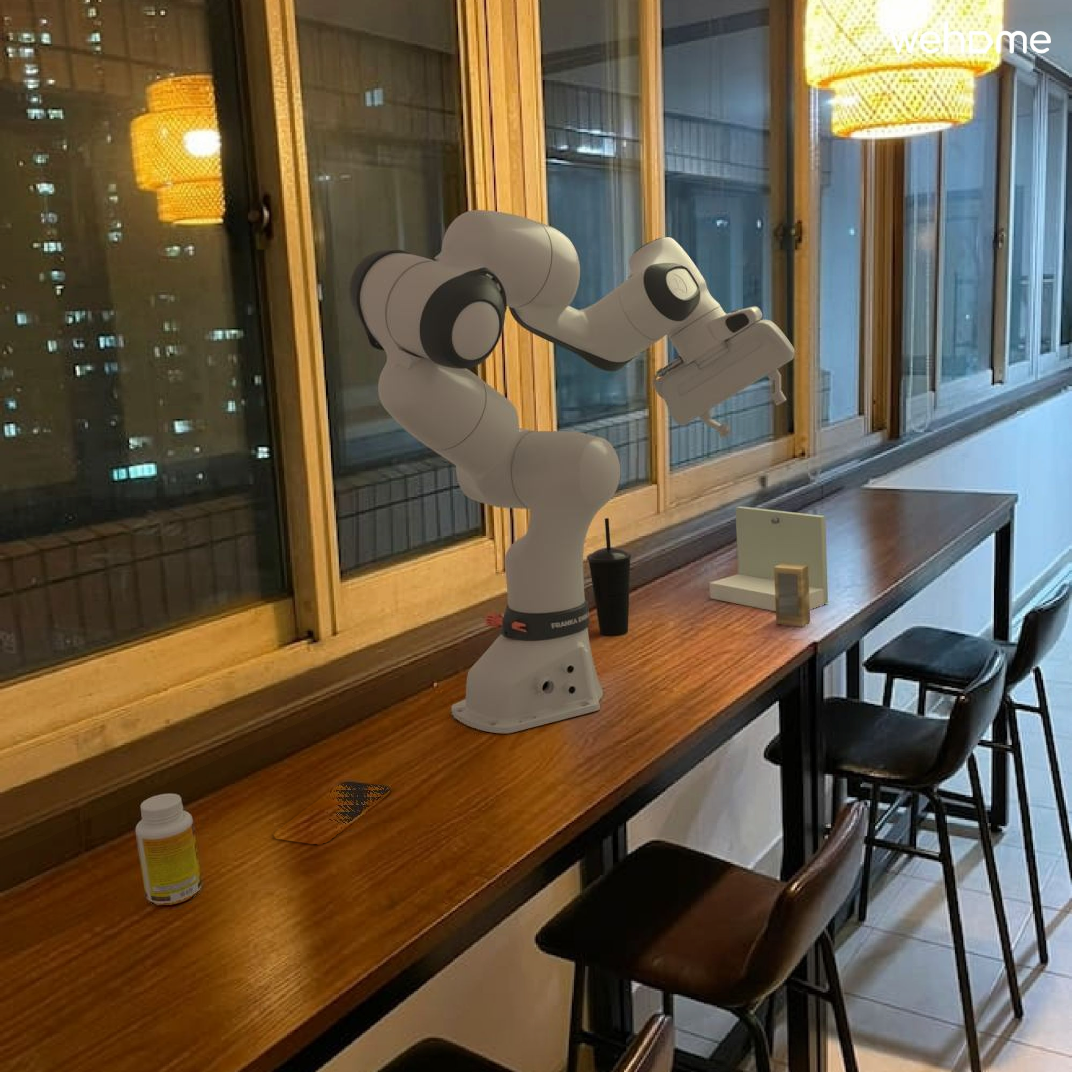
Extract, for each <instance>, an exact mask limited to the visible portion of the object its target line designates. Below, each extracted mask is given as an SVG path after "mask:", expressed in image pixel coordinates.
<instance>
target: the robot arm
mask: <svg viewBox="0 0 1072 1072" xmlns="http://www.w3.org/2000/svg"><path fill="white" fill-rule="evenodd" d="M443 236H444V237H443V239H442V243H441V251H440V253H438V254H437V255H435V257H434V260H433V259H430V258H426V257H423V256H420V255H415V254H414V253H412V252H410V251H407V250H401V249H393V248H392V249H381V250H377V251H373V252H372V253H369V254H367V255H366V256H364V257H363V258H362V259H361V261H359V262H358V264H357V265H356V267H355V268H354V270H353V271H352V272H353V273H352V275H351V278H350V281H349V291H348V292H349V300H350V303H351V307H352V309H353V311H354V313H355V315H356V317H357V319H358V321H359V322H360V324H361V326H362V327H363V329H364V332H365V335H366V337H367V340H368V342H369V344H370V345H371V347H372V348H374V349H377V350H379V351H384V352H385V354H386V362H385V365H384V367H383V368H382V370H381V372H380V375H379V379H378V384H377V385H378V386H377V391H378V398H379V401H380V402H381V403H380V404H381V405H382V407H383V408H384V410H385V411H386V412H387V413H388V414H389V415H390V416H391V417H392V419H394V421H396V422H397V423H398V425H400V426H401V427H402V428H403V429H404V430H405V431H406V432H407V433H408V434H410V435H411V436H412V437H413V438H415V439H416V440H418V441H419V442H420V443H422V444H423V445H425V447H428V448H429V449H430V450H432V451H434V452H435V453H436V454H438V455H439V456H441V457H443V458H444V459H445V460H447V461H449V462H450V463H452V464H453V465H454V466H455V474H456V478H457V479H456V480H457V484H458V486H459V487H460V490H461V491H462V492H463V494H464V495H465V497H467V498H469V499H470V500H472V501H475V502H478V503H482V504H485V505H488V506H491V507H496V508H502V509H506V508H507V509H521V510H522V509H525V510H529V523H528V527H527V530H526V533H525V534H524V535H522V536H521V537H519V538H518V539H517V540H515V541H514V542H513V543H512V544H511V545H510V546H509V548H508V549H507V551H506V553H505V556H504V568H505V569H504V570H505V580H506V583H505V584H506V593H507V594H506V595H507V605H506V606H505V611H504V614H503V616H502V614H500V613H496V612H493V611H491V612H489V613H487V614H486V616H485V620H484V622H485V624H486V625H487V626H488V627H491V628H492V627H494V628H495V629H499V628H500V629H499V633H500V635H498V637H497V638H496V639H495V640H494V641H493V642H492V644H491V645H490V646H489V647H488V648H487V650H486V651H485V652H484V653H483V654H482V655H481V656H480V657H479V659H478V660H477V661H476V662H475V663H474V664H473V666H471V667H470V669H469V670H468V673H467V677H466V683H465V684H466V685H465V699H462V700H460V701H458V702H456V703H453V704H452V705H451V706H450V707H451V712H452V713H451V716H452V715H453V716H454V717H453V716H452V717H453V719H455V718H456V719H457V720H459V721H460V722H459V721H458V722H459V723H461V722H463V723H464V724H463V723H462V724H463V725H465V724H466V725H465V726H468V727H470V728H473V729H475V728H476V730H480V731H483V732H487V733H488V732H489V733H495V734H512V733H515V732H519V731H520V732H521V731H524V730H527V729H531V728H535V727H539V726H544V725H546V724H550V723H555V722H559V721H562V720H567V719H569V718H574V717H578V716H582V715H585V714H588V713H589V714H590V713H593V712H596V711H599V710H600V709H601V704H600V700H601V698H602V697H603V695H604V691H603V688H602V685H601V684H600V680H599V678H598V674H597V671H596V667H595V663H594V659H593V654H592V647H591V642H590V636H589V626H590V623H591V620H590V611H589V610H590V609H589V601H588V599H587V598H585V596H586V595H585V577H584V549H585V543H586V542H585V541H586V536H587V534H588V530H589V529H590V525H591V524H592V522H593V519H594V518H595V516H596V515H597V513H599V511H600V510H601V509H602V508H603V507H604V506H605V505H606V504H607V503H609V502H610V501H611V499H612V498H613V496H614V495H615V493H616V491H617V489H618V486H619V483H620V480H621V479H620V478H621V465H620V460H619V456H618V453H617V452H616V450H615V448H614V447H613V445H612V444H611V443H610V441H608V440H607V439H606V438H603V437H600V436H596V435H592V434H588V433H584V432H582V431H581V432H579V431H576V430H575V431H573V430H553V431H552V430H532V429H531V430H530V429H526V428H520V421H519V420H520V419H519V415H518V411H517V408H516V407H515V405H514V403H512V401H511V400H509V398H507V397H506V396H504V395H503V394H501V392H499V391H498V390H496V389H495V388H494V387H492V386H491V385H490V384H488V382H485V381H484V380H483V379H482V378H480V376H478V375H477V374H475V373H474V372H472V371H471V370H470V369H473V368H474V367H475V368H476V367H477V366H479V365H481V364H483V362H485V361H486V360H487V359H488V358H489V357H490V356H491V354H492V353H493V352H494V350H495V348H496V346H497V345H498V343H499V341H500V338H501V335H502V333H503V330H504V327H505V326H504V325H505V320H506V313H507V308H508V310H509V313H510V314H511V316H512V317H513V319H514V321H516V323H517V324H519V326H521V327H522V328H523V329H525V330H526V331H528V332H529V333H531V334H533V335H535V336H537V337H540V338H542V339H544V340H546V341H548V342H550V343H551V344H553V345H556V346H558V347H561V348H562V349H565V350H567V351H570V352H572V353H574V354H575V355H577V356H579V357H580V358H581V359H582V360H583V361H585V362H586V363H587V364H589V365H590V366H591V367H594V368H596V369H598V370H601V371H606V372H618V371H620V370H621V369H623V368H624V367H625V366H627V364H628V363H630V362H631V361H632V360H633V359H635V358H636V356H639V354H641V353H643V351H645V350H647V349H648V348H650V347H652V345H654V344H656V343H657V342H658V341H660V340H661V339H663V337H665V336H667V338H668V339H669V340H670V342H671V344H672V346H673V347H674V349H675V350H676V352H677V355H679V356H677V357H676V358H675V359H673V360H671V361H670V362H669V363H667V364H666V365H665V366H663V367H660V368H659V369H658V370H657V371H655V372H656V373H655V375H654V377H653V379H652V386H653V388H654V390H655V392H656V393H657V395H658V396H659V397H660V398H661V399H663V400H664V402H665V405H666V407H667V409H668V411H669V414H670V415H671V418H672V419H673V420H674V422H675V423H676V424H677V425H679V426H685V425H687V424H689V423H691V422H692V421H693V420H694V421H695V420H696V419H697V418H700V420H701V421H702V423H703V424H705V425H706V426H709V427H710V428H712V429H713V430H716V432H717V433H718V435H719V436H720V438H721V439H724V438H726V437H727V436H729V435H730V434H732V430H731V428H730V427H729V425H728V423H727V422H724V423H722V424H721V423H719V422H718V421H716V420H714V419H713V417H714V415H713V413H712V411H711V410H712V409H713V408H715V407H717V406H719V405H720V404H722V403H723V402H724V401H727V400H728V399H730V398H732V397H734V396H735V395H737V394H738V393H740V392H741V391H743V390H744V389H746V388H748V387H750V386H751V385H753V384H754V383H757V382H758V381H760V380H761V379H763V378H765V377H766V376H767V377H768V380H769V381H770V382H773V381H774V393H772V394H770V398H771V399H772V400H773V402H774V404H775V405H776V406H779V405H781V404H782V403H785V402H786V401H787V397H786V395H785V394H784V393H783V391H782V374H781V373H780V371H779V370H778V369H779V368H781V367H783V366H784V365H786V364H788V363H790V362H791V361H792V360H794V358H795V355H796V354H795V353H796V351H795V348H794V346H793V345H792V343H791V342H790V340H789V339H788V337H787V336H786V335H785V333H784V332H783V331H782V330H781V329H780V327H779V326H777V324H775V322H773V321H772V320H769V319H762V318H763V313H762V310H761V309H760V308H759V306H755V305H754V306H750V307H746V308H742V309H733V311H732V310H731V311H730V312H728V313H726V312H725V311H724V308H722V306H721V304H720V303H719V302H718V301H717V300H716V299H715V298H714V297H713V296H712V294H711V293H710V291H709V289H708V286H707V281H706V280H705V278H704V277H703V275H702V274H701V272H700V270H699V269H698V267H697V266H696V264H695V263H694V261H693V260H692V258H690V256H689V255H688V253H687V252H686V251H685V249H683V247H682V246H681V245H680V244H679V243H678V242H677V241H676V240H675V239H674V238H672V237H666V236H664V237H663V236H662V237H658V238H656V239H654V240H652V241H649V242H646V243H645V244H643V245H642V246H641V247H639V248H638V249H636V250H635V251H634V252H633V253H632V255H631V256H630V257H629V259H628V266H629V268H630V271H631V273H630V274H629V276H628V277H627V279H626V280H624V281H623V282H622V283H621V284H620V285H618V286H617V287H615V288H614V289H613V290H612V291H610V292H609V293H608V294H606V295H605V296H603V297H602V298H601V299H599V300H598V301H596V302H595V303H593V304H591V305H589V306H587V307H585V308H583V309H582V308H581V309H577V308H574V306H573V307H572V306H570V305H571V303H572V302H573V300H574V298H575V296H576V294H577V291H578V288H579V284H580V276H581V265H580V264H581V263H580V259H579V255H578V252H577V250H576V248H575V246H574V244H573V242H572V241H571V239H569V237H567V236H566V235H565V234H564V233H563V232H561V231H560V230H558V229H557V228H555V227H553V226H550V225H548V224H545V223H542V222H539V221H536V220H534V219H531V218H527V217H525V216H520V215H516V214H513V213H507V212H503V211H495V210H485V209H484V210H483V209H474V210H469V211H466V212H464V213H461V214H460V215H459V216H457V217H456V218H454V220H453V221H452V222H451V223H450V225H449V226H448V227H447V229H446V230H445V233H444V235H443ZM456 719H455V720H456ZM457 720H456V721H457Z"/></svg>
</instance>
